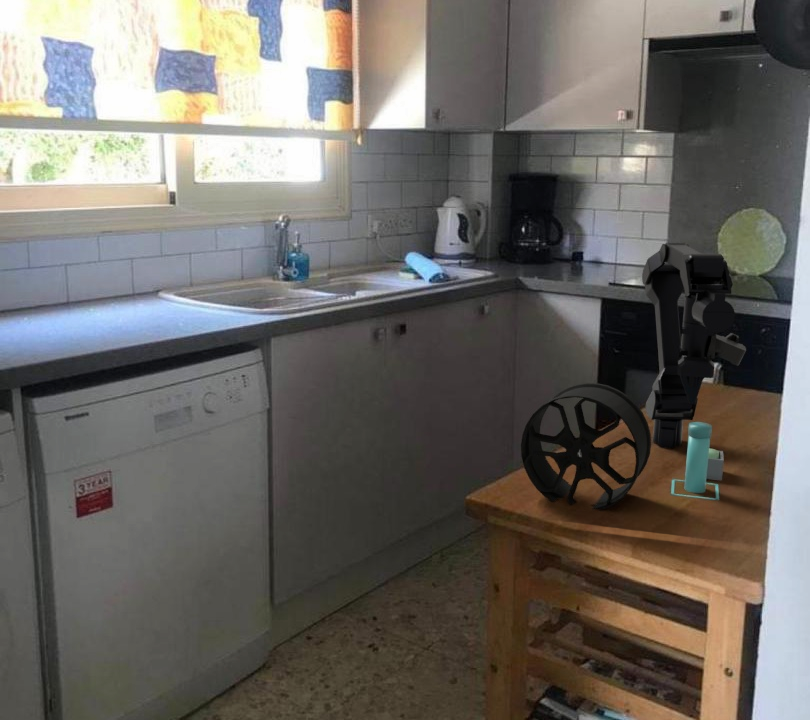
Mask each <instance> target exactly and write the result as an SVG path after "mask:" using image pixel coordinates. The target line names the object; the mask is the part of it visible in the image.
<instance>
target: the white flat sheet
mask: <svg viewBox="0 0 810 720" xmlns="http://www.w3.org/2000/svg"><path fill="white" fill-rule="evenodd" d="M676 482H684V483H685V479H684V480H683V479H675V478H672V479H671V489H670V491H671V492H670V495H671V496H680V497H687V498H696V499H704V500H714V501H720V494H719V492H720V491H719V484H718V483H711V482H706V485H712V486H714V488H715V498H714V497H707V496H706V497H704V496H697V495H688V494H681V493H680V494H679V493H675V483H676Z"/></svg>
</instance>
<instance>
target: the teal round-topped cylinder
mask: <svg viewBox="0 0 810 720" xmlns="http://www.w3.org/2000/svg"><path fill="white" fill-rule="evenodd" d="M712 428H713V426H712V425H711V424H710V423H707V422H701V421H695V422H694V421H692V422H689V423H688V439H687V450H686V451H687V452H686V463H685V475H684V480H685V482H684V486H683V489H684V490H685V491H686V492H688V493H691V494H703V493H705V492H706V490H707V489H706V486H707V484H706V483H707V479H706V478H707V467H708V457H709V448H710V443H711V437H712V431H713V429H712Z"/></svg>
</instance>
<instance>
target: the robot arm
mask: <svg viewBox="0 0 810 720" xmlns="http://www.w3.org/2000/svg"><path fill="white" fill-rule="evenodd" d="M641 273H642V275H641V276H642V278H641V280H642V281H641V282H642V284H643V285H644V288H645V295H646V296H647V299H649V300H650V302H651V303H652V305H653V306H654V314H655V325H656V326H655V327H656V328H655V329H656V340H657V350H658V351H657V354H658V366H659V367H658V369H659V371H658V375H657V376H656V379H655V380H654V382H653V384H652V387H651V388H652V391H651V393H650V394H649V396H648V398H647V400H646V402H645V414H646V416H647V417H648V418H649V419H650V421H651V420H652V421H653V428H652V431H653V432H652V436H651V439H652V443H653V444H654V445H657V446H658V448H661V449H662V448H664V449H671V450H672V449H675V448H676V447H680V446H682V441H683V426H684V421H685V420H686V421H693V420H694V417H695V413H696V408H697V405H698V401H699V397H698V396H699V393H700V389H701V387H702V383H703V381H704V379H714V378H715V377H714V376H715V363H714V362H713V361H712V360H713V359H715V357H718V358H720V359H723V360H725V361H728V362H730V364H732V365H734V366H737V367H738V366H739V365H740V363H741V361H742V359H743V357H744V355H745V353H746V351H747V347H746V346H745V345H743V344H742V343H739V342H740V340H739V339H740V337H739V335H738V334H736V333H735V334H734V333H733V332H730V333H729V334H728V335H726V336H724V335H719V333H723V332H725V331H727V330H729V329H730V328H731V327H732V326H733V324H734V322H735V319H736V312H735V309H734V307H733V305H732V304H731V303H730V302H728V301H727V300H726V295H731V294H732V287H733V280H732V276H731V272H730V267H729V265H728V262H727V260H726V259H725V257H724V256H723V254H721V253H702V252H700V251H698V250H696V249H694V248H692V247H690V245H689V243H687V244H686V242H665V243H662V244H661V246H660V248H659V250H658V251H657V252H655V253H654V254H652V255H651V256H650V257H648V258H647V259H646V262H645V265H644V266H643V270H642V272H641ZM683 291H684V295H685V296H684V304H683V305H684V306H683V316H682V328H681V327H680V315H679V314H680V313H679V302H678V301H679V299H680V297H681V295H682V294H683ZM717 333H718V334H717Z"/></svg>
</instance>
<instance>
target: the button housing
mask: <svg viewBox="0 0 810 720" xmlns="http://www.w3.org/2000/svg"><path fill="white" fill-rule="evenodd" d="M718 451H719V458H718V459H714V458H708V467H707V478H706V480H713V481H723V475H724V474H723V473H724V472H723V471H724V464H725V463H724V462H725V461H724V458H725V457H724V451H723V450H718Z"/></svg>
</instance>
